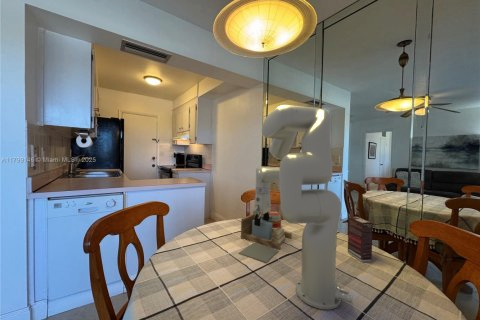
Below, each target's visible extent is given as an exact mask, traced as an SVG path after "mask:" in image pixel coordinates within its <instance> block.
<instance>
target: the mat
mask: <svg viewBox="0 0 480 320" xmlns="http://www.w3.org/2000/svg"><path fill="white" fill-rule="evenodd" d="M278 253H279V250H278V249H275V248H271V247H268V246H265V245H261V244H258V243H254V242H251V244H250V245H248V246H247V247H245V248H243V249H242V250H241V251H239V252H238V254H239V255H241V256H244V257H246V258H247V257H248V258H250V259H253V260H255V261H259V262H263V263H264V264H267V263H268V262H270V261H271V260H272V259H273V258H274V257H275V256H276V254H278Z"/></svg>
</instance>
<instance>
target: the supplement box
mask: <svg viewBox="0 0 480 320" xmlns="http://www.w3.org/2000/svg"><path fill="white" fill-rule="evenodd" d="M347 221H348V222H347V223H348V224H347V227H348V228H347V233H348V234H347V253H348V254H349V255H350V256H353V258H356V259H357V260H358V261H360V262H361V263H368V262H372V261H373V259H372V258H373V226H374V225H373V222H372V221H369V220H367V219H364V218H361V217H359V216H348V219H347Z"/></svg>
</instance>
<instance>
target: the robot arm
mask: <svg viewBox="0 0 480 320" xmlns="http://www.w3.org/2000/svg"><path fill="white" fill-rule="evenodd" d="M331 117H332V116H331V114H330V112H328V110H326V109H324V108H320V107H311V106H310V107H309V106H303V105H301V106H300V105H299V106H298V105H290V104H282V105H279V106H277V107H276V108H275V109H273V110H272V111H271V112H270V113H269V114H268V115H267V116H266V117H265V119H264V120H263V123H262V125H261V133H262V135H263V137H264V138H266V139H271V141H270V145H269V148H268V151H269V154H271V156H273V157H274V158H276V159H278V160H280V163H279V167H278V166H257V167H256V169H255V191H254V192H255V197H254V207H253V210H252V214H253V215H254V225H256V226H260V220H261V218H260V216H261V213H262V214H263V220H265V221H269V214H268V213H270V212H271V207H272V205H271V203H272V202H271V184H274V183H276V184H278V183H279V196H280V197H279V198H280V200H279V201H280V210H281V215H282V217H283V219H284V220H285V221H286V222H287V223H289V224H292V225H293V224H294V225H296V224H299V225H300V224H304V228H303V229H302V236H301V238H302V239H301V241H302V242H301V277H300V278H301V279H299V280H298V281H297V282H296V285H295V292H296V294H297V296H298V297H299V299H300V300H302V301H303V302H304V303H305V304H307V305H309V306H311V307H313V308H316V309H319V310H333V309H337V308H338V307H339V306H340V305H341V302H342V301H344V302H346V303H348V304H351V305H353V302H354V301H353V300H354V298H353V297H354V296H353V295H351V294H349V293H350V291H349V290H348V289H345V288H342V287H341V286H339V285H338V283H339V281H338V280H337V279H336V273H337V272H336V271H337V270H336V268H337V242H338V241H337V240H338V239H337V238H338V228H339V222H340V219H341V214H342V202H341V200H340V198H339V196H338V195H337V194H336V193H335V192H334V191H332V190H329V189H323V188H314V189H313V188H312V189H310V188H309V189H302V188H303V186H315V185H316V186H317V185H326V184H328V183H329V182H331V181H332V177H333V161H332V148H331V147H332V146H331V129H332V118H331ZM298 132H299V133H300V132H301V133H304V134H303V135H302V138H301V143H300V145H301V146H300V147H301V152H292V153H289V152H290V151H291V148H292V146H293V143H294V142H295V139H296V137H297V134H298ZM258 214H259V215H258Z"/></svg>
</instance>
